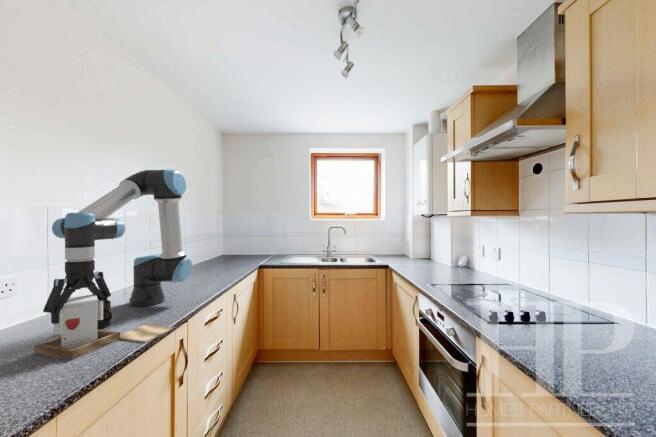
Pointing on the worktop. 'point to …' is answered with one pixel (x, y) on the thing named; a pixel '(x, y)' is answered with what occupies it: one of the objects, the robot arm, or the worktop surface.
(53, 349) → the walnut frame
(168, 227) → the robot arm
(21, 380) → the worktop surface
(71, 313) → the supplement box
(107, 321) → the mug
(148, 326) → the light wooden block
